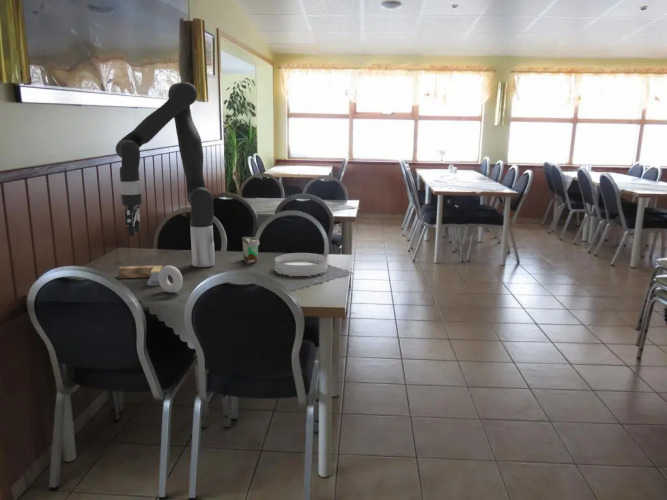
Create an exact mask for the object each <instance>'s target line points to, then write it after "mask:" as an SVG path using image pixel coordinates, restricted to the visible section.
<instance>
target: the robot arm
mask: <svg viewBox="0 0 667 500" xmlns="http://www.w3.org/2000/svg"><path fill="white" fill-rule="evenodd" d="M167 93H168V94H167V95H168V99H167V100H166V102H164V103H163V104H162V105H161V106H160V107H158V108H157V109H156V110H154V111H152V112H151V113H150V114H149V115H147V116H146V117H145V118H144V119H143V120H142V121H141V122H140V123H139V124H138V125H136V127H135V128H134V129H133V130H132V131H130V132H128V133H127V134H126V135H124V136H123V137H122V138H121V139H120V140H119V141H118V142H117V143H116V145H115V153H116V155H117V156H118V157H120V158H121V166H120V168H119V178H120V179H119V180H120V183H119V184H120V188H119V189H120V190H119V191H120V199H121V205H122V206H125V207H126V209H125V210H124V216H125V217H124V218H125V226H127V229H128V233H127V234H128V236H129V237H134V236H135V235H136V233H138V232H141V228H140V222H141V208H140V205H142V204H143V196H142V186H141V185H142V184H141V180H140V170H139V169H140V168H139V167H140V163H141V162H140V159H141V150H140V148H141V147H142V146H143V145H145V144H148V143H149V142H151V140H153V139H154V137H156V136H157V135H158V134H159V132H161V131H162V129H163V128H165V126H166V125H168V124H169V123H170V121H172V120H173V119H174V124H175V131H176V137H177V143H178V148H179V154H180V161H181V165H182V168H183V171H184V175H185V181H186V182H185V184H186V197H187V198H186V199H187V202H188V204H189V205H190V212H191V213H190V214H191V217H190V219H189V225H190V226H189V227H190V242H191V263H192V264H191V265H192V266H193V267H195V268H207V267H208V268H209V267H214V266H215V263H216V259H215V257H216V256H215V255H216V254H215V241H214V229H213V228H214V225H213V222H214V218H215V217H214V213H215V212H214V198H213V195H212V192H211V191H210V190H208V189H207V188H206V184H205V179H204V171H203V170H204V149H203V143H202V138H201V135H200V133H199V131H198V129H197V127H196V125H195V122H194V121H193V117H192V112H191V105H193V104H194V103H195V102H196V100H197V97H198V91H197V89H196V87H195V86H194V85H193V84H192V83H190V82H187V81H186V82H185V81H181V82H177V83H174V84H171V86H170V87H169V89H168V91H167Z"/></svg>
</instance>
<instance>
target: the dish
mask: <svg viewBox="0 0 667 500" xmlns="http://www.w3.org/2000/svg"><path fill="white" fill-rule="evenodd" d="M308 261H312V262H313V261H314V262H315V263H319V264H315V263H314V264H313V263H311V262H310V263H309V262H308ZM326 269H327V270H328V258H327V256H325V255H323V254H318V253H312V252H311V253H310V252H293V253H292V252H291V253H285V254H281V255H280V254H279V255H278V256H276V257H275V258H274V272H275V271H277V272H279V273H283V274H292V275H310V274H316V273H320V272H323V271H325V270H326Z"/></svg>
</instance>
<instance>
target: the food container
mask: <svg viewBox="0 0 667 500" xmlns="http://www.w3.org/2000/svg"><path fill="white" fill-rule="evenodd" d="M241 243H242V254H243V260H244V262H246V263H247V265H252V263H254V264H256V263H258V255H259V253H258V252H259V251H258V249H259V245H260V240H259V238H257V237H254V236H253V237H251V236H242V241H241ZM255 262H256V263H255Z"/></svg>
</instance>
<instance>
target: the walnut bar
mask: <svg viewBox="0 0 667 500" xmlns="http://www.w3.org/2000/svg"><path fill="white" fill-rule="evenodd" d="M154 266H163V265H162V264H161V265H160V264H159V265H157V264H156V265H134V266H133V265H128V266H119V268H118V278H119V279H123V278H125V279H127V278H129V279H130V278H150V277H151V270H152V269H153V267H154Z"/></svg>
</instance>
